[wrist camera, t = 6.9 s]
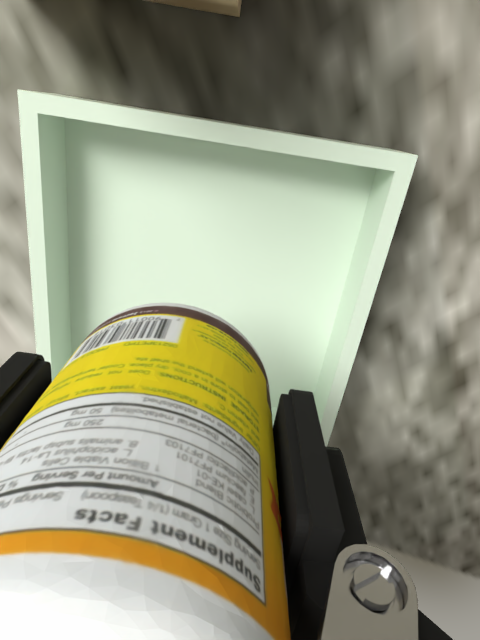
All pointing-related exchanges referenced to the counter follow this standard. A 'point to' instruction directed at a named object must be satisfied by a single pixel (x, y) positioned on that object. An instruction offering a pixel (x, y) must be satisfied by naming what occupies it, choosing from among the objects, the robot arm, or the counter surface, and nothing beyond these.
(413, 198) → the counter surface
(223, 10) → the tan box with knob
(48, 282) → the tray
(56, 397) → the supplement bottle
